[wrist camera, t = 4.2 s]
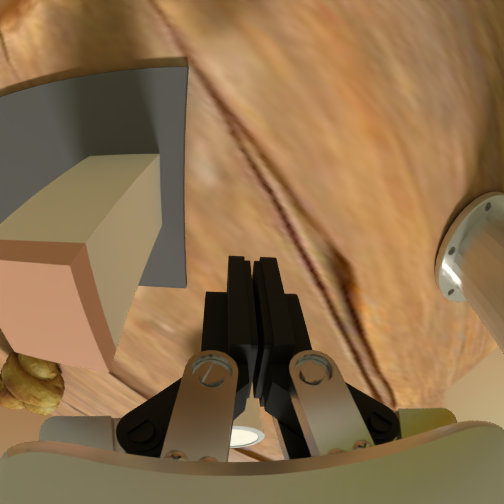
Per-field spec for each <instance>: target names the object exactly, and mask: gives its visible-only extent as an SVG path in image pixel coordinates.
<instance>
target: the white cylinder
mask: <svg viewBox="0 0 504 504" xmlns="http://www.w3.org/2000/svg"><path fill="white" fill-rule="evenodd" d="M264 437H265V435H264V430H263V426H262V421H261V416H260V411H259V406H258V401H257V398H254V396H253V385H252V386H251V391H250V397H249V398H247V401H246V407H245V411H244V412H243V413H242V414H240V415H239V416H238V417H237V418H236V419H235V420H234V421H233V428H232V435H231V442H230V448H237V447H246V446H250V445H254V444H256V443H258V442H260V441H262V440H263V438H264Z"/></svg>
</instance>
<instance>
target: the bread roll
mask: <svg viewBox="0 0 504 504" xmlns="http://www.w3.org/2000/svg"><path fill="white" fill-rule="evenodd" d="M64 389H65V387H64V380H63V377H62V376H61V374H60V372H59V371H58V370H57V368H56V363H55V362H52V361H47V360H43V359H39V358H35V357H31V356H28V355H24V354H20V353H17V352H12V353H11V354H10V355H9V356H8V358H7V360H6V363H5V364H4V365H3V368H2V370H1V374H0V405H1V406H3V407H6V408H9V409H21V408H24V407H25V408H26V409H27V410H28V411H30V412H31V413H37V414H43V415H47V414H49V413H51V412H52V411H54V410H55V409H56V408H57V407H58V405H59V404H60V401H61V399H62V397H63V393H64Z"/></svg>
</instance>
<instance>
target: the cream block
mask: <svg viewBox="0 0 504 504" xmlns="http://www.w3.org/2000/svg"><path fill="white" fill-rule="evenodd" d="M161 226H162V212H161V189H160V154H122V155H100V156H89V157H87V158H86V159H84V160H83V161H81V162H80V163H78V164H77V165H75V166H74V167H72V168H71V169H69V170H68V171H66V172H65V173H63V174H62V175H61V176H59V177H58V178H56V179H55V180H54V181H52V182H51V183H50V184H48V185H47V186H46V187H44V188H43V189H42V190H40V191H39V192H38V193H36V194H35V195H34V196H33V197H31V198H30V199H29V200H28V201H26V202H25V203H24V204H23V205H21V206H20V207H19V208H18V209H17V210H16V211H14V212H13V213H12V214H11V215H10V216H9V217H7V218H6V219H5V220H4V221H3V222H2V223H1V224H0V328H1V330H2V332H3V334H4V335H5V337H6V339H7V340H8V342H9V344H10V345H11V347H12V349H13V350H14V352H17V353H20V354H24V355H28V356H31V357H35V358H39V359H43V360H47V361H52V362H56V363H60V364H65V365H70V366H75V367H80V368H85V369H90V370H96V371H102V372H108V373H109V372H110V369H111V365H112V362H113V358H114V355H115V352H116V348H117V345H118V342H119V339H120V336H121V333H122V330H123V327H124V324H125V321H126V318H127V315H128V312H129V309H130V306H131V303H132V300H133V298H134V295H135V292H136V289H137V287H138V284H139V281H140V279H141V276H142V273H143V271H144V268H145V266H146V263H147V260H148V258H149V255H150V253H151V250H152V248H153V246H154V243H155V241H156V238H157V236H158V233H159V231H160V229H161Z"/></svg>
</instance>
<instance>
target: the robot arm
mask: <svg viewBox="0 0 504 504" xmlns="http://www.w3.org/2000/svg"><path fill="white" fill-rule="evenodd" d="M435 279H436V283H437V286H438V288H439V289H440V291H441V292H442V294H443V295H444V296H445V297H446V298H447V299H449V300H451V301H455V302H462V301H467V302H468V303H469V304H470V306H471V307H472V308H473V310H474V311H475V312H476V314H477V315H478V316H479V318H480V319H481V321H482V322H483V323H484V325H485V326H486V328H487V329H488V331H489V332H490V334H491V335H492V337H493V338H494V340H495V341H496V343H497V344H498V346H499V347H500V349H501V350H502V352H503V354H504V193H502V192H489V193H486V194H483V195H481V196H480V197H478V198H476V199H475V200H474V201H472V202H471V203H470V204H469V205H468V206H466V208H465V209H464V210H463V211H462V212H461V213H460V214H459V215H458V217H457V218H456V219H455V221H454V222H453V223H452V225H451V227H450V228H449V230H448V232H447V234H446V235H445V237H444V240H443V242H442V244H441V246H440V249H439V253H438V256H437V259H436V266H435ZM252 385H253V396H254V398H259V401H260V407H264V408H265V411H266V412H268V413H269V414H270V415H272V417H273V423H274V426H275V430H276V433H277V436H278V440H279V443H280V446H281V449H282V453H283V456H284V459H285V460H279V461H263V462H228V456H229V449H230V442H231V435H232V428H233V421H234V420H235V419H236V418H237V417H238V416H239V415H240V414H242V413H243V412H244V411H245V407H246V401H247V398H249V397H250V391H251V386H252ZM0 504H504V430H503V429H502V428H501V427H500V426H498V425H496V424H494V423H491V422H486V421H464V422H458V423H457V420H456V417H455V416H454V414H453V413H452V412H451V411H449V410H448V409H445V408H426V409H398V410H397V411H392V410H391V409H390V408H388V407H387V406H385V405H383V404H381V403H380V402H378V401H376V400H375V399H373V398H371V397H369V396H368V395H366V394H364V393H363V392H361V391H359V390H357V389H356V388H354V387H352V386H351V385H349V384H347V383H346V382H345V381H344V379H343V377H342V375H341V373H340V371H339V369H338V367H337V365H336V363H335V362H334V361H333V359H332V358H330V357H329V356H328V355H327V354H324V353H322V352H320V351H315V350H312V347H311V343H310V340H309V336H308V332H307V328H306V324H305V321H304V317H303V313H302V310H301V306H300V302H299V299H298V296H297V295H296V294H284V290H283V285H282V281H281V277H280V272H279V268H278V264H277V259H276V258H271V257H260V261H254V266H253V275H251V265H250V261H244V256H229V260H228V278H227V292H206V296H205V308H204V320H203V334H202V348H201V352H199V353H197V354H195V355H194V356H192V357H191V358H190V359H189V360H188V362H187V364H186V366H185V370H184V373H183V377H182V378H180V379H179V380H177V381H176V382H175V383H173V384H172V385H170V386H169V387H167V388H166V389H164V390H163V391H161V392H160V393H158V394H157V395H155V396H154V397H152V398H151V399H149V400H148V401H146V402H144V403H143V404H141V405H140V406H138V407H137V408H135V409H134V410H132V411H130V412H129V413H127V414H126V415H125V416H124V417H122V418H112V417H111V416H54V417H50V418H48V419H47V420H45V421H44V423H43V424H42V426H41V429H40V436H39V441H32V442H25V443H21V444H17V445H15V446H12V447H10V448H9V449H8V450H7V451H6V452H5V453H4V454H3V456H2V457H1V459H0Z"/></svg>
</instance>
